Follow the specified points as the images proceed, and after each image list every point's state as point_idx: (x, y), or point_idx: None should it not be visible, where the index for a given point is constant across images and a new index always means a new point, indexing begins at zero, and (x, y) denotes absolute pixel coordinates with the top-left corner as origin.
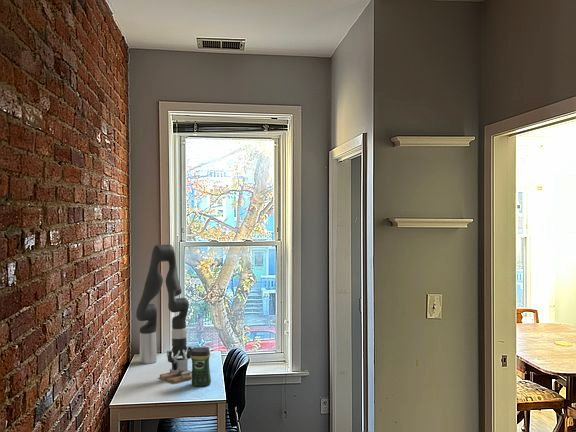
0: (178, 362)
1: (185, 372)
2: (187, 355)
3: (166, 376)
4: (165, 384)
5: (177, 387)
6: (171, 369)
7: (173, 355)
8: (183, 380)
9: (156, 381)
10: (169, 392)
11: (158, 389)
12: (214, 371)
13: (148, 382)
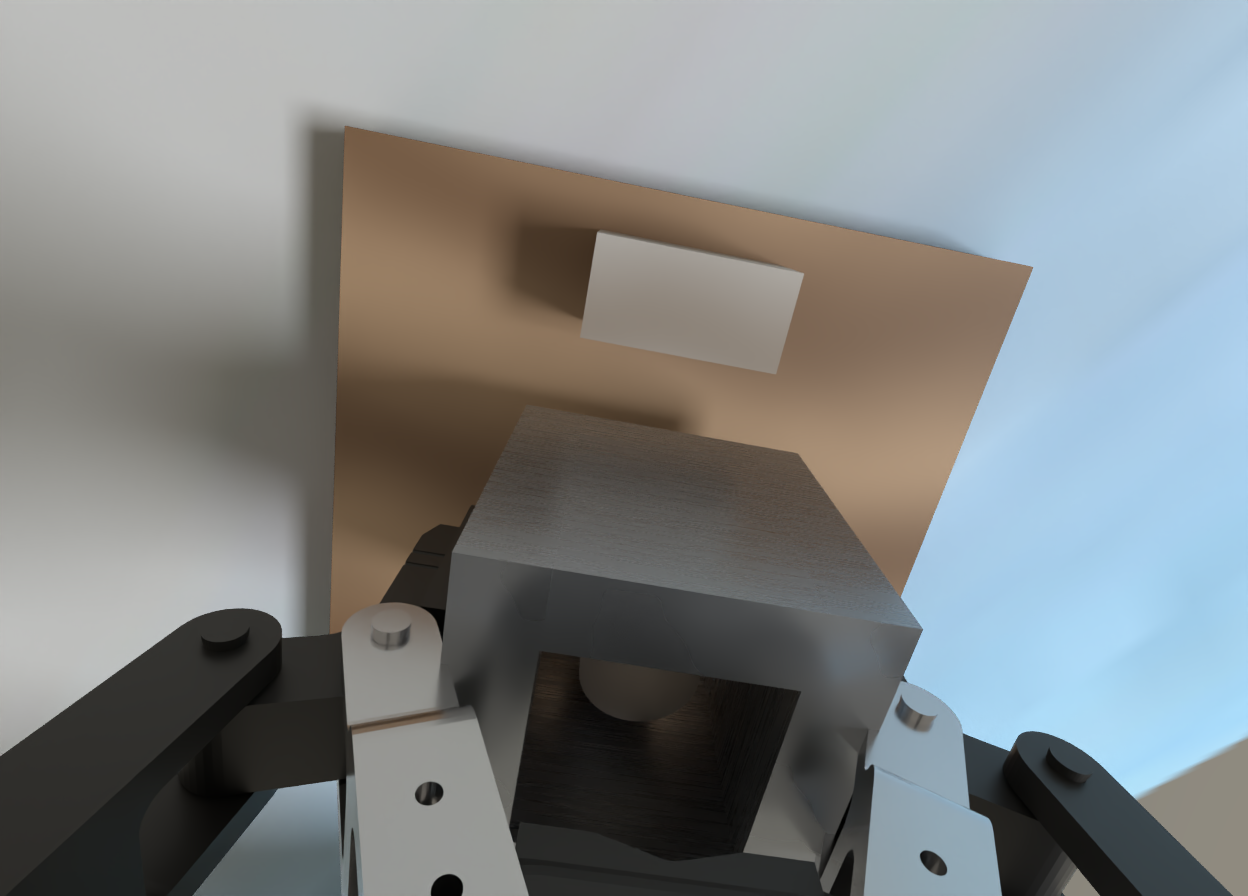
0: None
1: None
2: (1086, 845)
3: (372, 386)
4: (214, 573)
5: (273, 795)
6: (600, 300)
7: (371, 844)
8: None
9: (178, 303)
10: None
11: (2, 665)
12: (1204, 697)
13: (12, 212)
